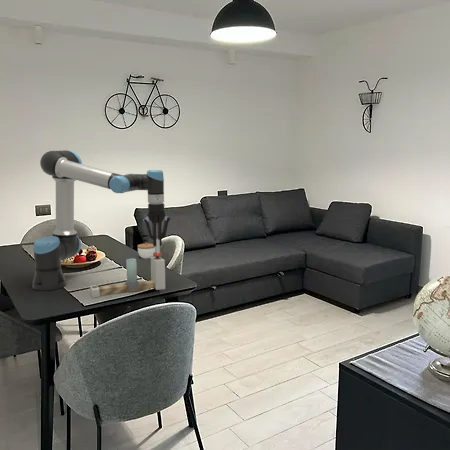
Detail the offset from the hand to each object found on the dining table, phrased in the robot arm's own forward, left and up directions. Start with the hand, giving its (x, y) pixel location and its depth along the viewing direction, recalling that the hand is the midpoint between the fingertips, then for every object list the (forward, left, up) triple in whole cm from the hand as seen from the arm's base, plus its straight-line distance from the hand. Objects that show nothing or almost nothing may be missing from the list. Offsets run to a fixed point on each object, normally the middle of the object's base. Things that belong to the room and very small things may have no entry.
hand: (157, 252), depth 218 cm
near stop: (-30, 0, -17) cm, 34 cm away
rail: (-15, 0, -17) cm, 23 cm away
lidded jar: (+10, +61, -17) cm, 64 cm away
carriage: (-13, 0, -16) cm, 20 cm away
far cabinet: (0, 0, -17) cm, 17 cm away
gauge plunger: (0, 0, -12) cm, 12 cm away
